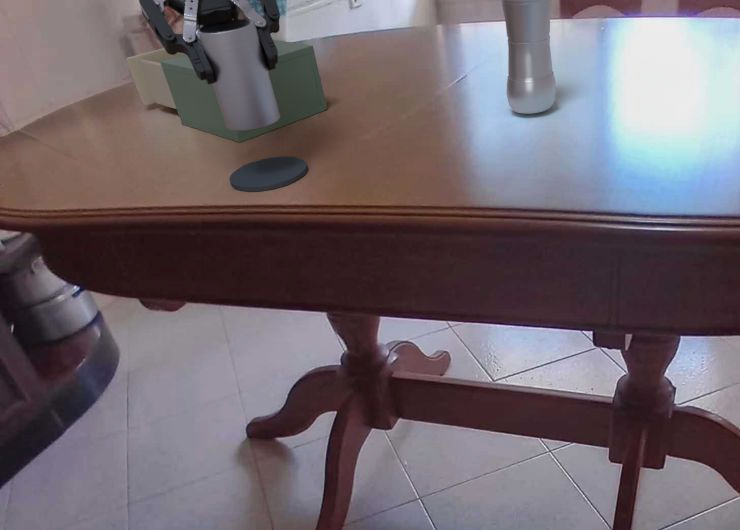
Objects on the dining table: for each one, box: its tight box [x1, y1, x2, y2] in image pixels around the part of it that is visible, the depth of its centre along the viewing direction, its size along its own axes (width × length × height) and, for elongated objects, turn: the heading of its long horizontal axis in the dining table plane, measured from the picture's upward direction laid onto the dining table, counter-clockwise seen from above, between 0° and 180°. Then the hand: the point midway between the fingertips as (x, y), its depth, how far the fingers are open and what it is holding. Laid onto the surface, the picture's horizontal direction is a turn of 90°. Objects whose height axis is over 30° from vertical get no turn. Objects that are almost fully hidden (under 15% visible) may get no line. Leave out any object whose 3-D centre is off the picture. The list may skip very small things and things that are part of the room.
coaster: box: [228, 156, 309, 193], centre depth 82 cm, size 9×9×1 cm
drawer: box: [124, 41, 199, 110], centre depth 109 cm, size 19×14×7 cm
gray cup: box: [196, 19, 280, 131], centre depth 76 cm, size 6×6×10 cm
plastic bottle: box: [500, 0, 557, 115], centre depth 86 cm, size 6×7×20 cm
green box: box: [160, 39, 328, 143], centre depth 99 cm, size 16×15×9 cm
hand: (242, 71), depth 74 cm, fingers closed on gray cup, 6 cm apart
